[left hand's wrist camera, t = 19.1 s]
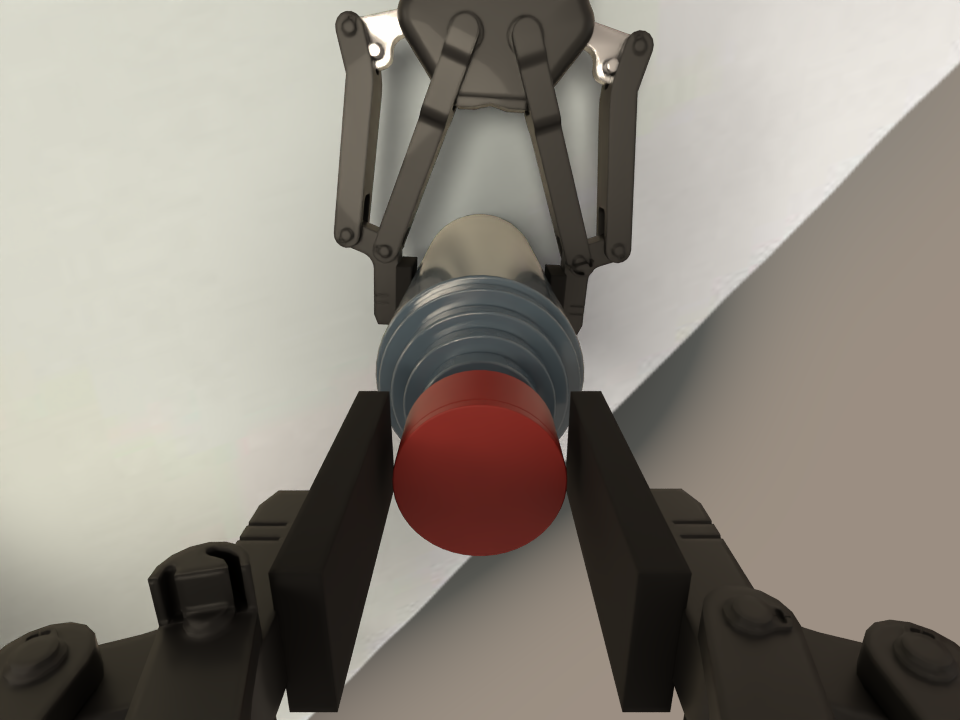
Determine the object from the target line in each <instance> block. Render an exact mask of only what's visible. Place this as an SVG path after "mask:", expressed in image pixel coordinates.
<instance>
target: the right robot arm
mask: <svg viewBox="0 0 960 720" xmlns="http://www.w3.org/2000/svg"><path fill="white" fill-rule="evenodd" d="M335 27H336V33H337V38H338V42H339V46H340V50H341V54H342V58H343V63H344V67H345V71H346V82H345V95H344V108H343V121H342V134H341V147H340V160H339V173H338V186H337V199H336V212H335V225H334V238H335V240H336V242H337V243H338V244H339V245H340V246H342V247H345V248H350V247H351V248H353V249H355V250H358V251H360V252H362V253H364V254H366V255H367V256H369V257H370V259H371V260H372V262H373V265H374V315H375V317H376V320H377V322H378V324H386V325H389V323H390V321H391V319H392V318H393V316H394V314H395V312H396V310H397V308H398V306H399V304H400V302H401V300H402V298H403V296H404V294H405V293H406V291H407V289H408V287H409V285H410V283H411V281H412V279H413V277H414V275H415V273H416V271H417V257H404V256H403V257H402V249H403V248H404V244H405V241H406V239H407V236H408V233H409V231H410V228H411V225H412V223H413V220H414V217H415V215H416V212H417V209H418V207H419V204H420V202H421V199H422V196H423V194H424V191H425V188H426V186H427V183H428V180H429V178H430V175H431V172H432V170H433V167H434V165H435V162H436V159H437V157H438V154H439V151H440V149H441V146H442V143H443V141H444V138H445V135H446V133H447V130H448V128H449V126H450V124H451V121H452V119H453V116H454V113H455V111H456V108H458V109H470V110H475V109H479V108H484V107H488V106H492V107H495V108H498V109H501V110H503V111H506V112H519V113H523V112H524V115H525V119H526V123H527V127H528V130H529V133H530V136H531V139H532V143H533V147H534V151H535V155H536V159H537V163H538V167H539V171H540V175H541V179H542V183H543V187H544V191H545V195H546V199H547V203H548V207H549V211H550V215H551V219H552V223H553V228H554V232H555V236H556V240H557V244H558V248H559V252H560V256H561V267H560V265H545V275H546V277H547V279H548V281H549V283H550V285H551V287H552V289H553V291H554V293H555V295H556V297H557V299H558V300H559V302H560V304H561V306H562V308H563V310H564V312H565V314H566V316H567V318H568V320H569V322H570V324H571V325H572V327H573V329H574V331H575V334H576V335H577V334H578V332H579V330H580V329H581V327H582V323H583V314H584V306H585V298H586V290H587V282H588V277H589V275H590V274H591V273H592V272H593V270H594V269H595V268H597V267H599V266H602V265H606V264H609V263H613V262H614V263H620V262H623V261H625V260H626V259H627V258H628V257H629V255H630V252H631V240H632V215H633V191H634V166H635V142H636V117H637V93H638V89H639V87H640V84H641V81H642V78H643V76H644V73H645V70H646V68H647V65H648V62H649V59H650V57H651V54H652V51H653V46H654V43H653V38H652V37H651V35H650V34H649V33H647V32H646V31H642V30H639V31H636V32H634V33H632V34H627V33H624V32H621V31H618V30H615V29H613V28H610V27H607V26H604V25H602V24H599V23H596V22H595V19H594V14H593V10H592V8H591V5H590V2H589V0H400V1H399V4H398V9H395V10H390V11H385V12H381V13H376V14H371V15H367V16H362V17H359V16H358V15H357V14H356V13H354V12H352V11H345V12H343V13H341V14H340V15H339V16H338V18H337V20H336V23H335ZM404 38H406V40H407V41H408V43H409V45H410V46H411V48H412V50H413V51H414V53H415V55H416V56H417V58H418V59H419V61H420V63H421V64H422V66H423V68H424V69H425V71H426V73H427V74H428V76H429V78H430V79H431V82H430V85H429V88H428V91H427V93H426V96H425V99H424V102H423V105H422V108H421V111H420V116H419V119H418V122H417V125H416V128H415V131H414V133H413V136H412V139H411V142H410V144H409V147H408V150H407V153H406V156H405V158H404V161H403V164H402V167H401V169H400V172H399V175H398V178H397V181H396V183H395V186H394V189H393V192H392V194H391V197H390V200H389V203H388V206H387V208H386V211H385V214H384V217H383V219H382V222H381V225H380V227H377V226H375V225H373V224H370V223H369V221H370V211H371V201H372V190H373V180H374V170H375V159H376V149H377V139H378V128H379V118H380V108H381V98H382V75H381V71H382V70H385V69H387V68H388V67H390V65H391V64H392V62H393V53H394V47H395V45H396V44H397V42H398V41H400V40H401V39H404ZM583 50H585V51H587V52H588V53H589V54H590V55H591V57H592V61H593V69H592V73H593V77H594V79H595V80H596V81H597V82H598V83H600V84H602V89H601V95H600V102H599V133H598V183H597V233H596V236H595V237H592V238H589V239H587V236H586V231H585V227H584V223H583V218H582V214H581V210H580V205H579V201H578V197H577V192H576V188H575V184H574V179H573V175H572V171H571V166H570V162H569V158H568V153H567V149H566V145H565V140H564V136H563V132H562V127H561V117H560V112H559V107H558V103H557V99H556V94H555V90H554V87H555V85H556V84H557V83H558V81H559V80H560V79H561V78H562V76H563V75H564V74H565V72H566V71H567V70H568V69H569V67H570V66H571V65H572V63H573V62H574V61H575V60H576V58H577V57H578V56H579V55H580V53H581V52H582V51H583Z"/></svg>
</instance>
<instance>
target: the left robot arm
mask: <svg viewBox="0 0 960 720" xmlns="http://www.w3.org/2000/svg"><path fill="white" fill-rule="evenodd" d="M393 468H394V462H393V445H392V428H391V411H390V394H389V391H359V392H358V394H357V396H356V398H355V400H354V402H353V404H352V406H351V408H350V410H349V412H348V414H347V416H346V418H345V420H344V422H343V424H342V426H341V428H340V430H339V432H338V434H337V436H336V438H335V440H334V442H333V444H332V446H331V448H330V450H329V452H328V454H327V456H326V458H325V460H324V462H323V464H322V466H321V468H320V470H319V472H318V474H317V476H316V478H315V480H314V482H313V484H312V486H311V488H310V490H309V491H278V492H276V493H275V494H274V495H272V496H271V497H270V498H268V499H267V500H266V501H264V502H263V503H262V504H261V505H259V507H258V508H257V510H256V512H255V513H254V515H253V517H252V518H251V520H250V521H249V526H246V528H245V529H244V531H243V533H242V534H241V536H240V540H239V541H237V542H236V544H233V543H229V542H208V543H204V544H200V545H196V546H192V547H189V548H187V549H185V550H182V551H180V552H178V553H176V554H174V555H172V556H170V557H169V558H168V559H166V560H165V561H164V562H162V563H161V564H160V565H158V566H157V567H156V569H155V570H154V571H153V573H152V574H151V576H150V577H149V578H148V583H149V587H150V591H151V595H152V599H153V603H154V607H155V611H156V615H157V619H158V623H159V629H158V630H155V631H152V632H148V633H145V634H142V635H138V636H134V637H130V638H126V639H121V640H117V641H113V642H109V643H105V644H101V645H98V643H97V639H96V636H95V633H94V632H93V631H92V630H91V629H90V628H89V627H88V626H87V625H83V624H78V623H73V622H68V623H61V624H53V625H49V626H46V627H43V628H40V629H37V630H34V631H32V632H29V633H27V634H25V635H23V636H22V637H20V638H18V639H16V640H14V641H13V642H11V643H9V644H7V645H6V646H5V647H3V648H2V649H1V650H0V720H277V719H276V714H277V711H278V709H279V706H280V703H281V700H282V697H283V695H284V692H285V689H286V691H287V697H288V704H289V710H290V712H338V708H339V704H340V700H341V696H342V692H343V688H344V684H345V680H346V676H347V672H348V669H349V665H350V661H351V657H352V653H353V649H354V645H355V641H356V637H357V633H358V629H359V625H360V621H361V617H362V613H363V609H364V605H365V601H366V597H367V594H368V590H369V586H370V582H371V578H372V574H373V570H374V566H375V562H376V558H377V554H378V550H379V546H380V542H381V538H382V534H383V530H384V526H385V522H386V519H387V515H388V511H389V507H390V503H391V499H392V495H393V481H392V478H393ZM566 471H567V490H566V491H567V495H568V499H569V503H570V507H571V511H572V515H573V519H574V522H575V526H576V530H577V534H578V538H579V542H580V546H581V550H582V554H583V558H584V562H585V566H586V570H587V574H588V578H589V582H590V586H591V590H592V593H593V597H594V601H595V605H596V609H597V613H598V617H599V621H600V625H601V629H602V633H603V637H604V641H605V645H606V649H607V653H608V657H609V661H610V664H611V669H612V672H613V676H614V680H615V684H616V688H617V692H618V696H619V700H620V704H621V708H622V712H670V710H671V703H672V697H673V691H674V686H675V689H676V692H677V694H678V697H679V700H680V703H681V706H682V708H683V711H684V719H683V720H960V647H959V646H958V645H957V644H956V643H955V642H953V641H951V640H949V639H947V638H946V637H944V636H942V635H940V634H938V633H937V632H935V631H933V630H930V629H928V628H925V627H922V626H919V625H916V624H913V623H910V622H903V621H896V620H886V621H880V622H875V623H874V624H873V625H871V626H870V627H869V628H868V629H867V630H866V633H865V636H864V639H863V643H861V642H857V641H853V640H848V639H844V638H840V637H836V636H832V635H828V634H824V633H819V632H816V631H813V630H810V629H807V628H803V627H801V625H800V624H799V622H798V620H797V619H796V617H795V616H794V614H793V613H792V611H790V610H789V609H788V608H787V607H786V606H784V605H783V604H782V603H781V602H780V601H779V600H777V599H775V598H773V597H771V596H769V595H768V594H766V593H764V592H762V591H759V590H756V589H754V588H753V586H752V585H751V583H750V582H749V580H748V578H747V577H746V575H745V574H744V572H743V570H742V569H741V567H740V566H739V564H738V562H737V561H736V559H735V558H734V556H733V554H732V553H731V551H730V550H729V548H728V546H727V545H726V543H725V541H724V540H723V539H721V537H720V533H719V532H718V530H717V529H716V527H715V525H714V524H712V521H711V519H710V517H709V516H708V514H707V513H706V511H705V509H704V508H703V506H702V505H701V503H699V502H698V501H697V500H696V499H694V498H693V497H692V496H690V495H689V494H688V493H686V492H685V491H684V490H682V489H650V488H649V486H648V484H647V482H646V480H645V478H644V476H643V474H642V472H641V470H640V468H639V466H638V464H637V462H636V460H635V458H634V456H633V454H632V452H631V450H630V448H629V446H628V444H627V442H626V440H625V438H624V436H623V434H622V432H621V430H620V428H619V426H618V424H617V422H616V420H615V418H614V416H613V414H612V412H611V410H610V408H609V406H608V404H607V402H606V400H605V398H604V396H603V394H602V392H601V391H571V394H570V411H569V428H568V445H567V462H566Z"/></svg>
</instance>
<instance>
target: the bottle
mask: <svg viewBox="0 0 960 720" xmlns="http://www.w3.org/2000/svg"><path fill="white" fill-rule="evenodd" d="M472 370H488V371H496V372H500V373H504V374H507V375H510V376H512V377H515V378H517V379H518V380H520V381H522V382H524V383H525V384H527V385H528V386H529V387H531V388H532V389H533V390H534V391H535V392H536V393H537V394H538V395H539V396H540V397H541V398H542V399H543V401H544V402H545V404H546V405H547V407H548V409H549V410H550V413H551V415H552V418H553V421H554V424H555V428H556V432H557V436H558V439H560V437H561V436H562V435H563V434H564V432H565V431H566V429H567V427H568V426H569V411H570V394H571V391H582V387H583V381H584V364H583V355H582V351H581V348H580V344H579V341H578V339H577V336H576V334H575V331H574V329H573V327H572V325H571V324H570V322H569V320H568V318H567V316H566V314H565V312H564V310H563V308H562V306H561V304H560V302H559V300H558V299H557V297H556V295H555V293H554V291H553V289H552V287H551V285H550V283H549V281H548V279H547V277H546V275H545V274H544V272H543V270H542V268H541V266H540V264H539V262H538V260H537V258H536V256H535V254H534V252H533V250H532V248H531V247H530V245H529V243H528V241H527V240H526V238H525V237H524V235H523V234H522V233H521V232H520V231H519V230H518V229H517V228H516V227H515V226H513V225H512V224H511V223H509V222H507V221H505V220H504V219H501V218H499V217H496V216H492V215H485V214H474V215H468V216H464V217H461V218H459V219H456V220H454V221H452V222H451V223H449V224H448V225H446V226H445V227H444V228H443V229H442V230H441V231H440V232H439V233H438V234H437V235H436V236H435V238H434V239H433V241H432V243H431V245H430V246H429V248H428V250H427V252H426V254H425V256H424V258H423V260H422V262H421V264H420V266H419V268H418V269H417V271H416V273H415V275H414V277H413V279H412V281H411V283H410V285H409V287H408V289H407V291H406V293H405V294H404V296H403V298H402V300H401V302H400V304H399V306H398V308H397V310H396V312H395V314H394V316H393V318H392V319H391V321H390V323H389V325H388V327H387V329H386V331H385V333H384V335H383V337H382V340H381V343H380V346H379V350H378V355H377V361H376V382H377V389H378V391H389V394H390V411H391V426H392V428H393V430H394V431H395V432H396V434H397V435H398V436H399V438H400V439H401V438H402V434H403V431H404V427H405V423H406V420H407V417H408V414H409V412H410V410H411V408H412V406H413V405H414V403H415V402H416V400H417V399H418V398H419V397H420V395H421V394H422V393H423V392H424V391H425V390H427V389H428V388H429V387H430V386H432V385H433V384H434V383H436V382H438V381H439V380H441V379H443V378H445V377H448V376H450V375H453V374H456V373H460V372H464V371H472Z"/></svg>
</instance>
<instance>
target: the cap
mask: <svg viewBox="0 0 960 720" xmlns="http://www.w3.org/2000/svg"><path fill="white" fill-rule="evenodd" d="M392 481H393V491H394V496H395V500H396V502H397V505H398V508H399V510H400V511H401V513H402V515H403V517H404V518H405V520H406V521H407V522H408V524H409V525H410V526H411V527H412V528H413V529H414V530H415V531H416V532H417V533H418V534H419V535H420V536H422V537H423V538H424V539H426V540H427V541H429V542H430V543H432V544H434V545H436V546H438V547H440V548H442V549H445V550H448V551H451V552H454V553H458V554H463V555H471V556H488V555H497V554H501V553H506V552H509V551H512V550H515V549H518V548H520V547H522V546H524V545H526V544H528V543H529V542H531V541H532V540H534V539H535V538H537V537H538V536H539V535H541V534H542V533H543V532H544V531H545V530H546V529H547V528H548V527H549V526H550V525H551V523H552V522H553V521H554V519H555V518H556V516H557V514H558V513H559V511H560V509H561V507H562V504H563V501H564V499H565V494H566V490H567V471H566V466H565V462H564V458H563V454H562V450H561V447H560V443H559V439H558V436H557V432H556V428H555V424H554V421H553V418H552V415H551V413H550V410H549V409H548V407H547V405H546V404H545V402H544V401H543V399H542V398H541V397H540V396H539V395H538V394H537V393H536V392H535V391H534V390H533V389H532V388H531V387H529V386H528V385H527V384H525V383H524V382H522V381H520V380H518V379H517V378H515V377H512V376H510V375H507V374H504V373H500V372H496V371H488V370H472V371H464V372H460V373H456V374H453V375H450V376H448V377H445V378H443V379H441V380H439V381H438V382H436V383H434V384H433V385H432V386H430V387H429V388H428V389H427V390H425V391H424V392H423V393H422V394H421V395H420V397H419V398H418V399H417V400H416V402H415V403H414V405H413V406H412V408H411V410H410V412H409V414H408V417H407V420H406V423H405V427H404V431H403V434H402V438H401V442H400V445H399V449H398V453H397V456H396V460H395V464H394V468H393V478H392Z"/></svg>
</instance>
